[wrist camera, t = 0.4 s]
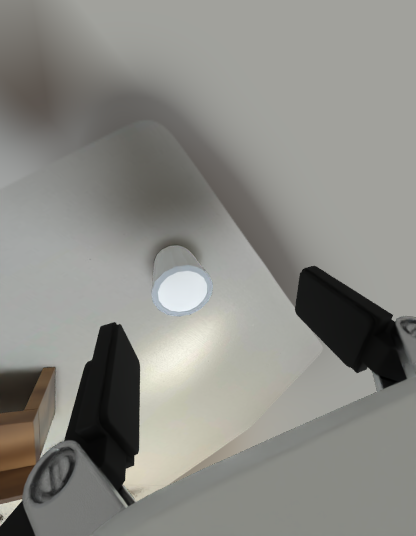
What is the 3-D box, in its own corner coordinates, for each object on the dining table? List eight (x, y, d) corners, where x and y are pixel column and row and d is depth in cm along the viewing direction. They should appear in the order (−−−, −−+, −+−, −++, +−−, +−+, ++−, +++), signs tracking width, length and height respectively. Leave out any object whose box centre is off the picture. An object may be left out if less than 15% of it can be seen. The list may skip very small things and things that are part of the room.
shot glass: (157, 290, 29) (162, 324, 23) (142, 248, 25) (142, 276, 20) (202, 276, 30) (217, 306, 24) (193, 235, 27) (208, 257, 21)
